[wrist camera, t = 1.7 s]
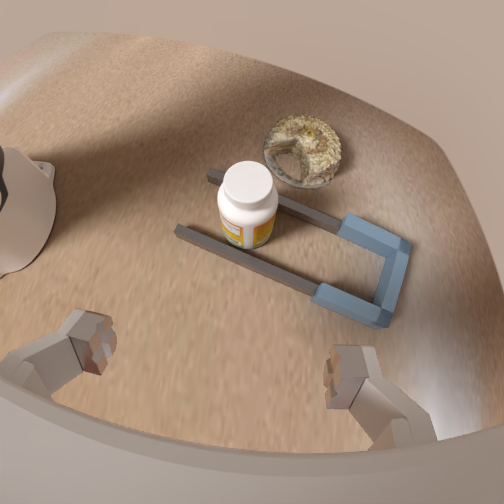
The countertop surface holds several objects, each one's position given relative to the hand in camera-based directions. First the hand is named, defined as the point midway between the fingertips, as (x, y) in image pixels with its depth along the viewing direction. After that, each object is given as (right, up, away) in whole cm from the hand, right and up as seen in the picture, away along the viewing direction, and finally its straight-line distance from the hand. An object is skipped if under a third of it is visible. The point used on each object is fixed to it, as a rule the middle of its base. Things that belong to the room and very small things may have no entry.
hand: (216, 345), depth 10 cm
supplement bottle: (+1, +6, +23) cm, 24 cm away
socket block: (+12, +1, +21) cm, 25 cm away
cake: (+8, +15, +26) cm, 31 cm away
